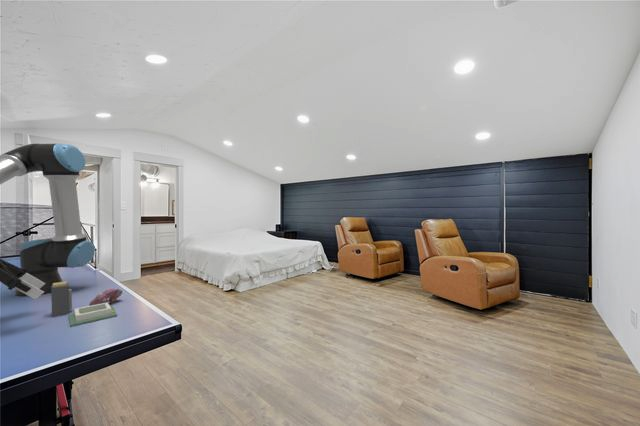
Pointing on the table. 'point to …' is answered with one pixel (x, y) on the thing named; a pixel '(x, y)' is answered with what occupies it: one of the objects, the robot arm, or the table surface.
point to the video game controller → (106, 296)
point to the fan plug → (61, 298)
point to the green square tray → (91, 314)
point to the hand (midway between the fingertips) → (41, 291)
